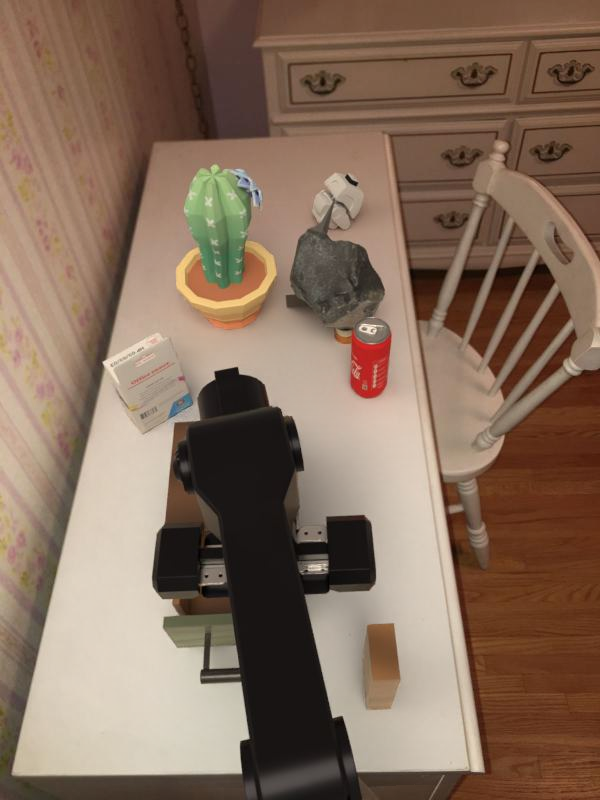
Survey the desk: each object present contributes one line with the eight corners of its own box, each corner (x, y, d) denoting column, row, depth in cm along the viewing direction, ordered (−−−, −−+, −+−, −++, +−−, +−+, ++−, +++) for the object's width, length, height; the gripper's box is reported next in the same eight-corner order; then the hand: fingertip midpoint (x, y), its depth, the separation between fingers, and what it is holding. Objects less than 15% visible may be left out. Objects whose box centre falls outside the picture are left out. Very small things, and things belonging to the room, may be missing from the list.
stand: (390, 708, 68) (400, 679, 57) (366, 710, 68) (372, 681, 57) (385, 659, 71) (393, 622, 60) (362, 660, 71) (367, 624, 60)
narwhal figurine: (292, 368, 95) (284, 279, 81) (285, 295, 104) (277, 202, 90) (388, 359, 95) (397, 268, 81) (373, 287, 104) (379, 193, 90)
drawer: (298, 689, 68) (295, 672, 62) (173, 695, 69) (158, 679, 63) (293, 529, 79) (290, 501, 73) (185, 534, 79) (173, 508, 73)
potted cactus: (273, 348, 98) (256, 213, 77) (174, 342, 99) (133, 208, 79) (287, 277, 107) (275, 139, 86) (196, 272, 108) (163, 136, 88)
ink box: (176, 383, 95) (153, 313, 83) (193, 404, 92) (172, 336, 80) (125, 413, 92) (93, 345, 80) (141, 436, 89) (111, 369, 77)
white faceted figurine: (340, 240, 114) (375, 194, 109) (313, 229, 110) (348, 180, 105) (326, 220, 117) (360, 175, 112) (300, 209, 113) (333, 161, 108)
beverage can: (381, 404, 91) (386, 349, 81) (345, 395, 92) (346, 340, 82) (390, 376, 93) (396, 319, 84) (355, 368, 95) (357, 311, 85)
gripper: (368, 426, 54) (362, 509, 67) (147, 437, 54) (183, 516, 67) (381, 553, 48) (371, 617, 60) (131, 563, 48) (173, 625, 61)
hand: (272, 589), depth 62 cm, fingers closed on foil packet, 4 cm apart
